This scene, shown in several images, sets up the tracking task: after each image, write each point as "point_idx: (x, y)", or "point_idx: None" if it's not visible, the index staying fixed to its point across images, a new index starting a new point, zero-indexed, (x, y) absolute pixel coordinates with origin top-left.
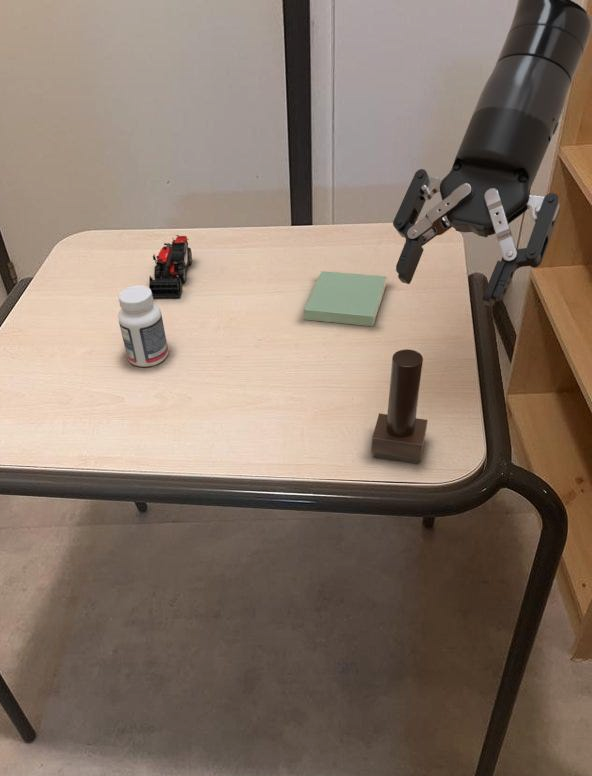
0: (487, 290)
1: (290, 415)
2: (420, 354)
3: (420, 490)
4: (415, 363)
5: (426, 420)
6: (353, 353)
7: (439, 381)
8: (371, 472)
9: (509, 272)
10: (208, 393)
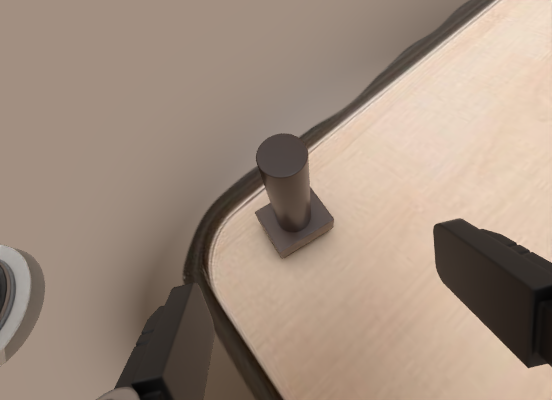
0: (183, 294)
1: (431, 182)
2: (270, 174)
3: (238, 197)
4: (261, 151)
5: (279, 250)
6: None
7: (354, 388)
8: None
9: (123, 376)
10: (539, 139)
